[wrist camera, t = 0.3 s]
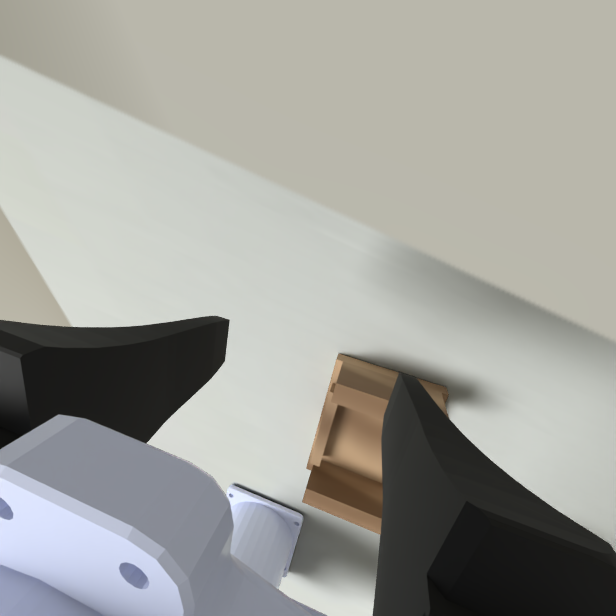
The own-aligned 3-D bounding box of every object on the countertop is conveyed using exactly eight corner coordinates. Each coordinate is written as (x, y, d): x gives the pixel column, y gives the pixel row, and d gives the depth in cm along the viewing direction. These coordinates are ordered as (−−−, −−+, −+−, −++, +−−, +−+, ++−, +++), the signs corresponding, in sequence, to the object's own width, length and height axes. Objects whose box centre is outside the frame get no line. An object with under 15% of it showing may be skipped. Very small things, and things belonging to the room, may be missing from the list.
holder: (398, 494, 25) (400, 542, 21) (309, 459, 26) (296, 499, 22) (446, 387, 21) (458, 423, 17) (338, 353, 22) (328, 380, 19)
